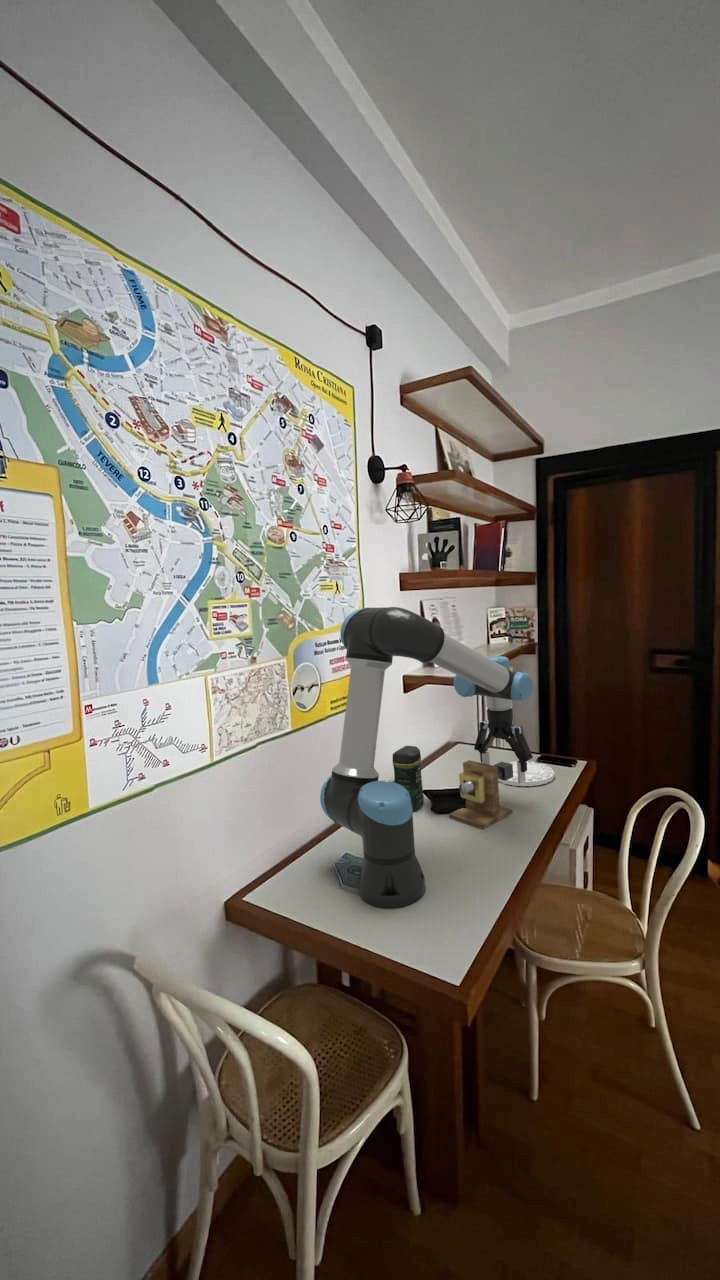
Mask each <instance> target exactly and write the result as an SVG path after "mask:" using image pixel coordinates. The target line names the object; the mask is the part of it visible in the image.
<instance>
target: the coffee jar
mask: <svg viewBox="0 0 720 1280" xmlns="http://www.w3.org/2000/svg"><path fill="white" fill-rule="evenodd" d="M421 756H422V755H421V750H420V749H419V748H418V747H417V746H415V745H404V746H402V747H401V748H399V749H398V750H396V751H395V752H393V754H392V766H393V767H392V768H393V775H394V777H393V778H394V783H397V784H399V785H401V786H403V787H404V788H405V789H406V790H407V791H408V792H409V795H410V799H411V804H412V808H413V810H412V812H414V811H417V810H418V809H420V808H421V807H422V806H423V804H424V803H425V802H424V801H425V798H424V790H423V788H424V787H423V780H422V778H423V777H422V757H421Z"/></svg>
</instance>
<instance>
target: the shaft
mask: <svg viewBox="0 0 720 1280" xmlns="http://www.w3.org/2000/svg"><path fill="white" fill-rule="evenodd" d="M493 766H497V771H498V779H501V780H505V781H506V780H508V779H510V778H512V777H513V764H510V762H509V763H508V762H505V761H499V762H497V763H495V764H493ZM458 790H459V792H461V793H462V794H463V795H466V794H468V793H470V792H472V791H474V790H475V783H473V782H469V781H467V782H465V783H463V784H461V785H460V784H459V786H458Z"/></svg>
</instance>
